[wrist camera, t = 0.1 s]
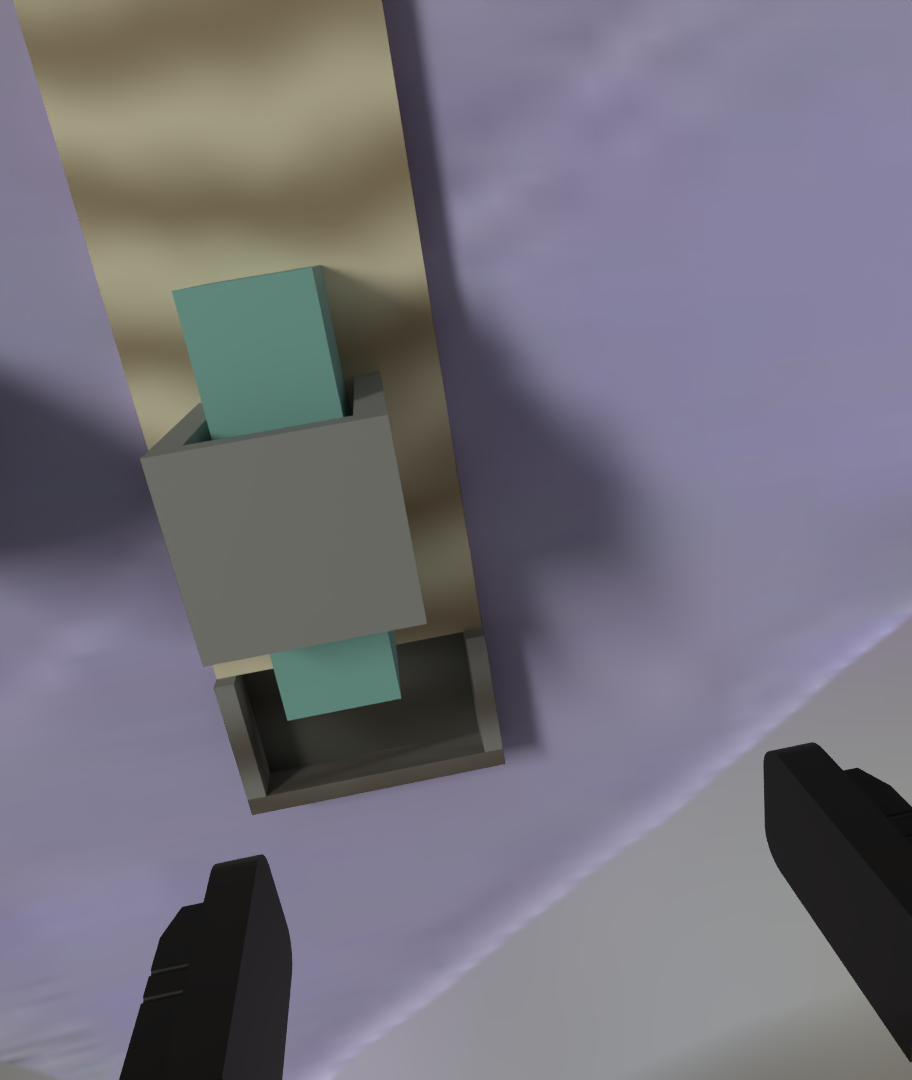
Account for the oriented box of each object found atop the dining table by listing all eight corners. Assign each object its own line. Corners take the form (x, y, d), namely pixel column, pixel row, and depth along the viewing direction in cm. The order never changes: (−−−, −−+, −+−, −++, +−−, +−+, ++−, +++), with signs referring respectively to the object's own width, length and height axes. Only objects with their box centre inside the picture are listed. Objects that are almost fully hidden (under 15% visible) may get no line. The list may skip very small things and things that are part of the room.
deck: (12, -42, 31) (-14, -64, 29) (364, -92, 32) (364, -118, 30) (257, 787, 45) (252, 815, 43) (498, 738, 46) (505, 763, 44)
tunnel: (198, 403, 36) (139, 458, 27) (380, 371, 37) (387, 414, 27) (242, 563, 39) (203, 666, 29) (410, 531, 40) (427, 623, 30)
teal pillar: (206, 283, 35) (171, 290, 28) (320, 264, 35) (311, 267, 28) (299, 646, 41) (287, 720, 35) (394, 628, 41) (401, 698, 35)
